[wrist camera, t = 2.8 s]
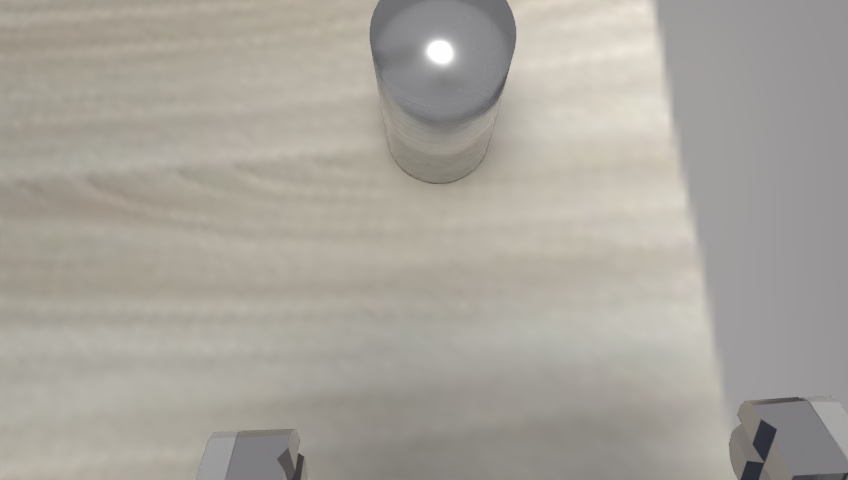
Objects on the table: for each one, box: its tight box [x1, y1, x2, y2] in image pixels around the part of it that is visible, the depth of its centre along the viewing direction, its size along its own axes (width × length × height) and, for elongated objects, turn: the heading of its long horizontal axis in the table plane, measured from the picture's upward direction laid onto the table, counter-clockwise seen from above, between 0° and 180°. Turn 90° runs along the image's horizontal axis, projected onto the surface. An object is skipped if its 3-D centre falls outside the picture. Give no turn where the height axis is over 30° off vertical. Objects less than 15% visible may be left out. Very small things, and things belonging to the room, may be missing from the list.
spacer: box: [370, 0, 516, 183], centre depth 27 cm, size 5×5×10 cm
